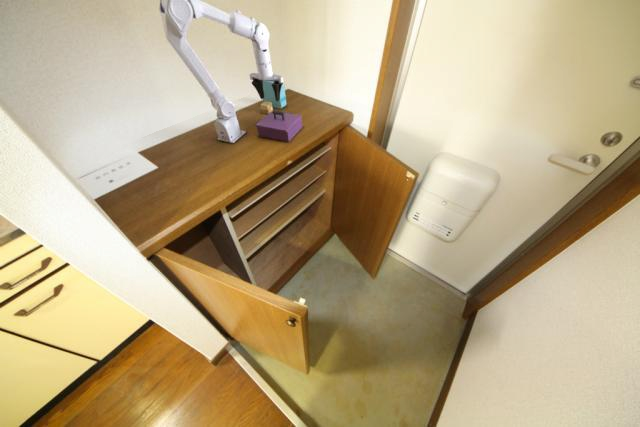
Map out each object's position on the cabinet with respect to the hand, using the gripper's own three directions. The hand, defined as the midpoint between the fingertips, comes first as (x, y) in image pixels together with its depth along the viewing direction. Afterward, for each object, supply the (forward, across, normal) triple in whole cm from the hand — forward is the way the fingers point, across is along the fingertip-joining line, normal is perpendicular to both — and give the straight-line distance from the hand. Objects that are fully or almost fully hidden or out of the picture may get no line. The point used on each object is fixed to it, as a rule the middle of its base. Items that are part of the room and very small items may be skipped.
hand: (270, 99), depth 96 cm
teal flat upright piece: (+10, +8, -16) cm, 20 cm away
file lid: (+5, -7, +8) cm, 12 cm away
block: (+10, +8, -8) cm, 15 cm away
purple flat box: (+10, -8, +7) cm, 14 cm away
